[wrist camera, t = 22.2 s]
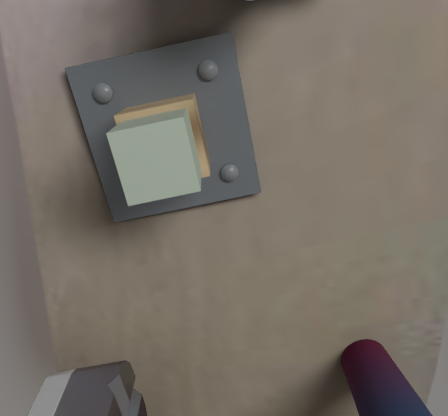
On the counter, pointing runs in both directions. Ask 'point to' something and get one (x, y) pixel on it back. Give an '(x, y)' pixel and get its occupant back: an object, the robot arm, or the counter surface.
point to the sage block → (156, 156)
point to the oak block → (171, 105)
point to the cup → (379, 382)
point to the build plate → (165, 89)
